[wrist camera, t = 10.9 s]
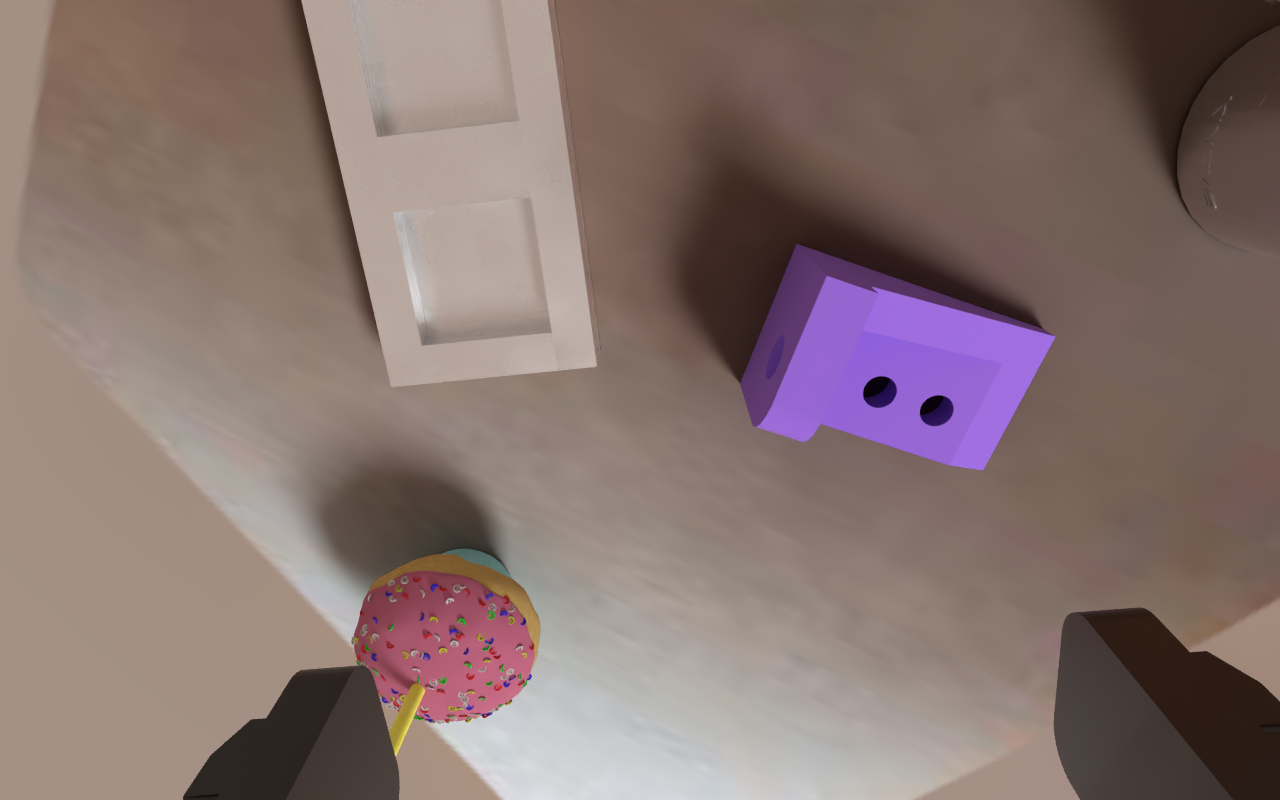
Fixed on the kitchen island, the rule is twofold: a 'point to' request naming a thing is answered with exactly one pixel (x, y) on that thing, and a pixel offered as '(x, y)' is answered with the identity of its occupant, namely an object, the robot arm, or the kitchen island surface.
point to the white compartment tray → (460, 183)
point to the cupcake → (447, 638)
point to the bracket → (887, 362)
